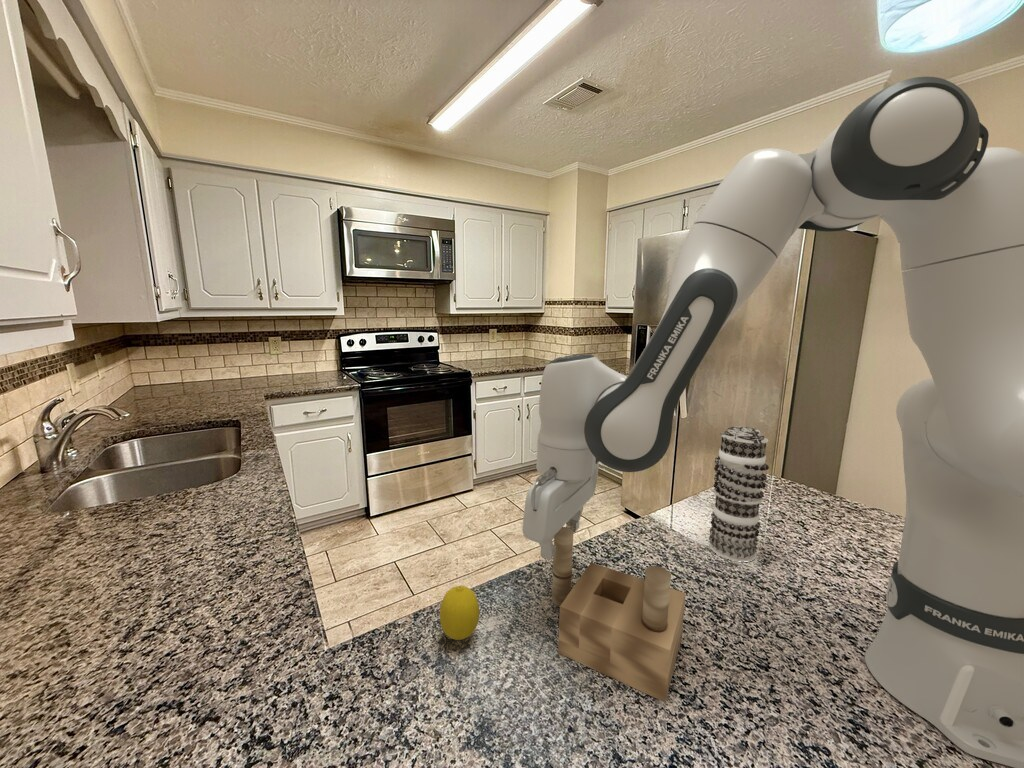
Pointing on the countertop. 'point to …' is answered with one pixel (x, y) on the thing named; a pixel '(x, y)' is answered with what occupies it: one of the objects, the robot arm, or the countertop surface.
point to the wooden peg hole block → (624, 626)
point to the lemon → (459, 612)
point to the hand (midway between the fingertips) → (560, 542)
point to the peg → (562, 565)
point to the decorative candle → (738, 493)
